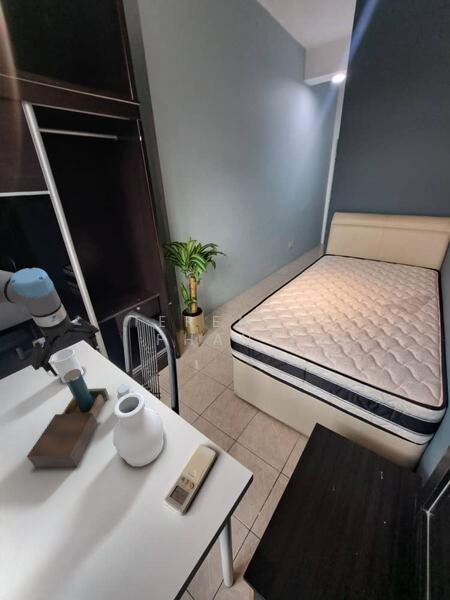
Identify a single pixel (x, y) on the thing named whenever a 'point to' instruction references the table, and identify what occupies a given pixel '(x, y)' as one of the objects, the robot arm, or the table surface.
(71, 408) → the drawer
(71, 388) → the tin
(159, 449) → the vase
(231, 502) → the table surface
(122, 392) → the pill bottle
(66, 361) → the mug
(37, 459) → the drawer cabinet
